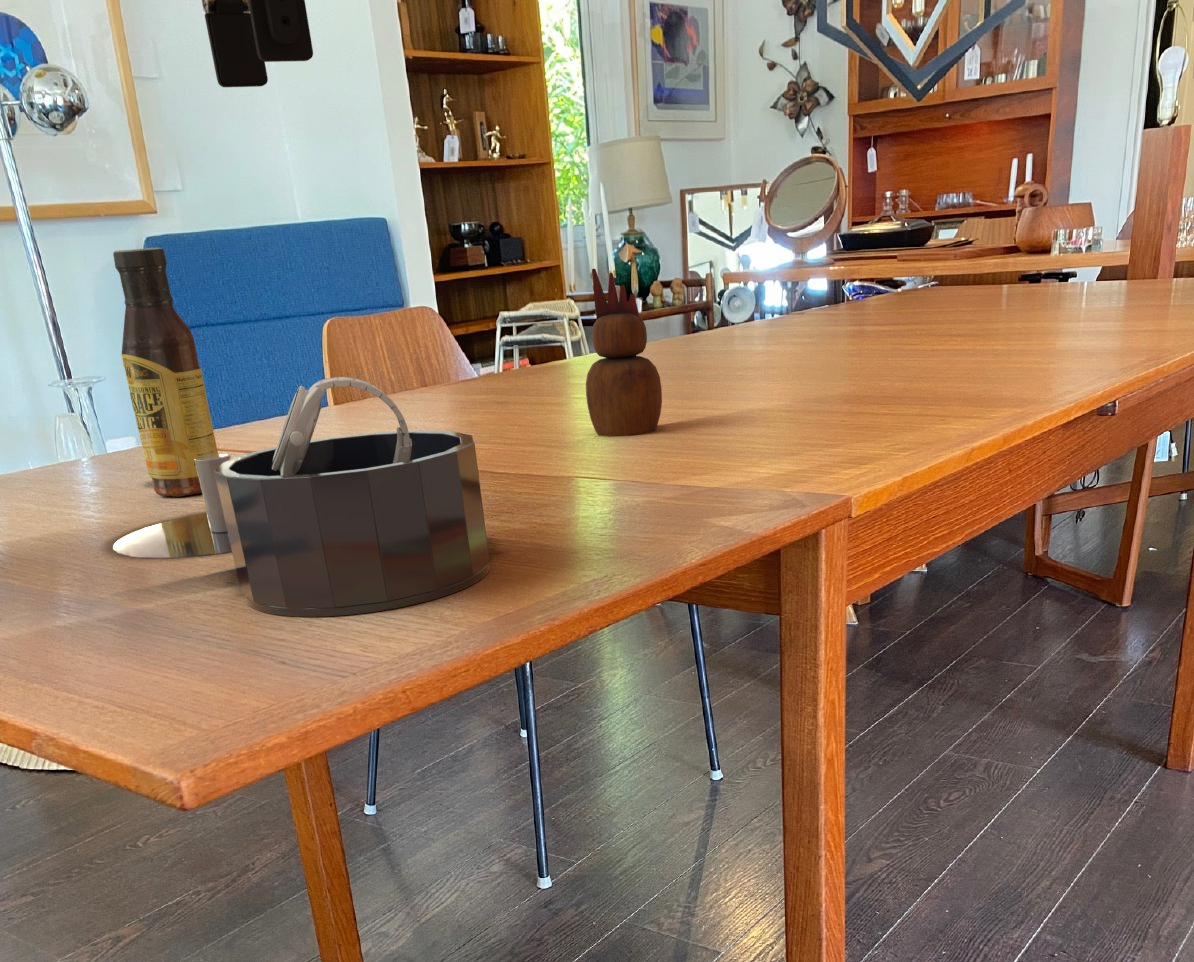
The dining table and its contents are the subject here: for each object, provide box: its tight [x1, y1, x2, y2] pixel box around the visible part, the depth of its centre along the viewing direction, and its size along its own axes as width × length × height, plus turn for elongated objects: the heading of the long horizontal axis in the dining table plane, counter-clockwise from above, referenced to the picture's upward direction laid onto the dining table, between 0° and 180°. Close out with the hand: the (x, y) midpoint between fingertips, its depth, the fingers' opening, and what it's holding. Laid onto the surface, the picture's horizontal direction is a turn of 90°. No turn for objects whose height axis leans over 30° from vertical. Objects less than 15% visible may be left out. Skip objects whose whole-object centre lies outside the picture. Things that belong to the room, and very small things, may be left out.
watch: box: [272, 376, 412, 476], centre depth 67 cm, size 6×8×11 cm
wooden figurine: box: [585, 268, 663, 437], centre depth 105 cm, size 7×6×15 cm
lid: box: [112, 453, 232, 560], centre depth 81 cm, size 16×16×6 cm
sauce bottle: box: [112, 247, 219, 498], centre depth 100 cm, size 6×6×20 cm
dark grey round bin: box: [214, 429, 491, 618], centre depth 68 cm, size 15×15×8 cm
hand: (264, 73), depth 72 cm, fingers open, 9 cm apart
